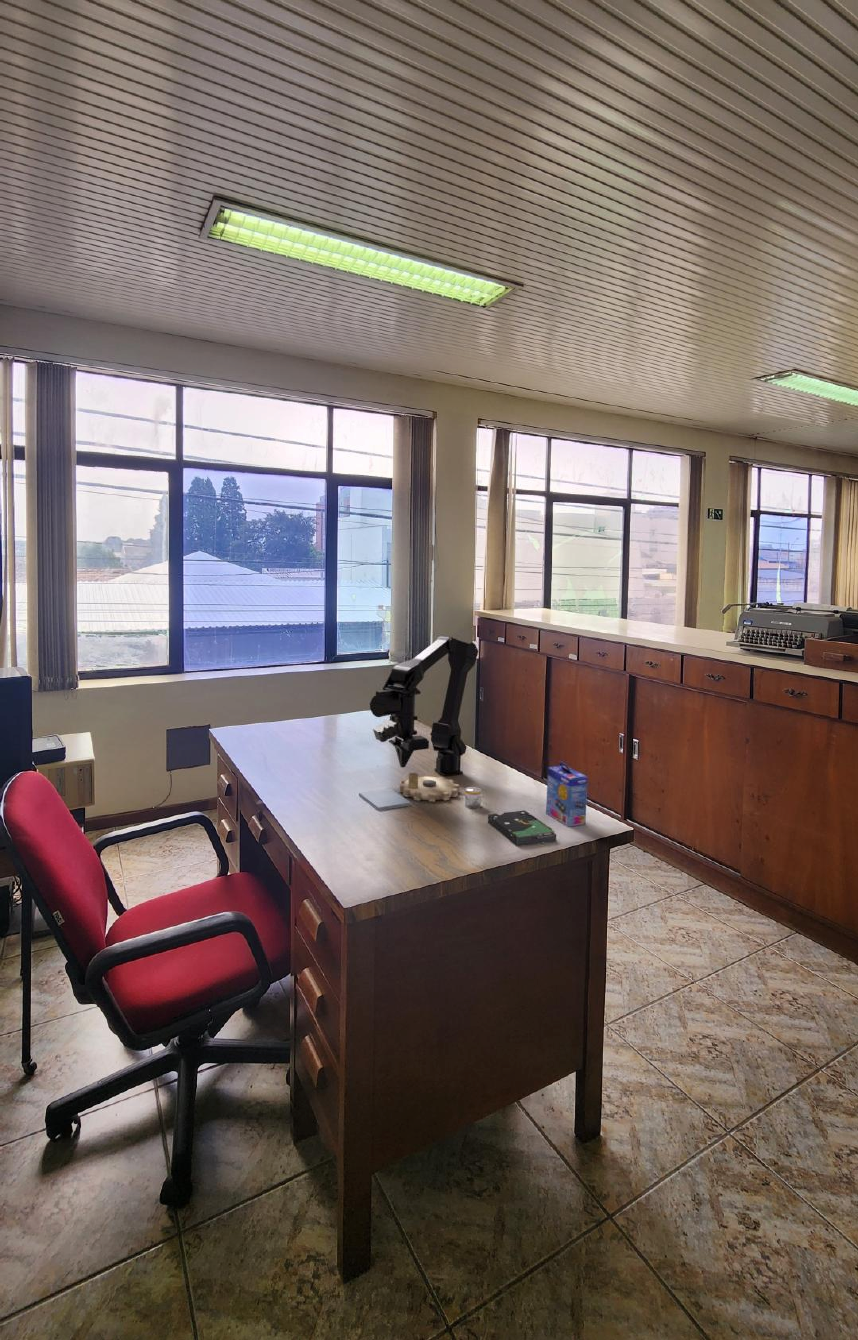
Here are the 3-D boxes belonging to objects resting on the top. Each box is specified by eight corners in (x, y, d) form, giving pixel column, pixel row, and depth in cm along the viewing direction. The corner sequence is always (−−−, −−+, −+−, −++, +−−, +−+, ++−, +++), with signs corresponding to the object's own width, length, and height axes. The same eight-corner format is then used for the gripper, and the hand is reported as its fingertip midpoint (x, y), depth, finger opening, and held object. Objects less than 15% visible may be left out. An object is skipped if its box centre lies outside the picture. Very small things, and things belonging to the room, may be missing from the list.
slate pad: (389, 791, 182) (389, 788, 182) (410, 805, 172) (410, 802, 172) (359, 795, 178) (359, 792, 177) (378, 810, 167) (378, 807, 167)
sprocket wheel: (439, 778, 193) (440, 760, 192) (470, 796, 179) (471, 776, 179) (389, 786, 185) (390, 767, 184) (417, 805, 172) (417, 784, 171)
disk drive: (486, 825, 162) (517, 848, 148) (487, 814, 162) (517, 836, 148) (524, 820, 166) (557, 842, 152) (524, 809, 166) (557, 831, 152)
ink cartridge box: (543, 813, 169) (547, 757, 167) (562, 810, 172) (565, 755, 169) (567, 827, 160) (571, 769, 158) (586, 824, 163) (590, 766, 161)
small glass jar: (475, 802, 176) (475, 785, 175) (483, 807, 172) (484, 790, 171) (461, 804, 174) (462, 787, 173) (470, 809, 170) (471, 792, 169)
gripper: (362, 707, 186) (362, 761, 189) (392, 721, 170) (391, 780, 173) (398, 704, 192) (397, 757, 194) (431, 718, 176) (429, 775, 178)
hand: (402, 767), depth 185 cm, fingers closed
